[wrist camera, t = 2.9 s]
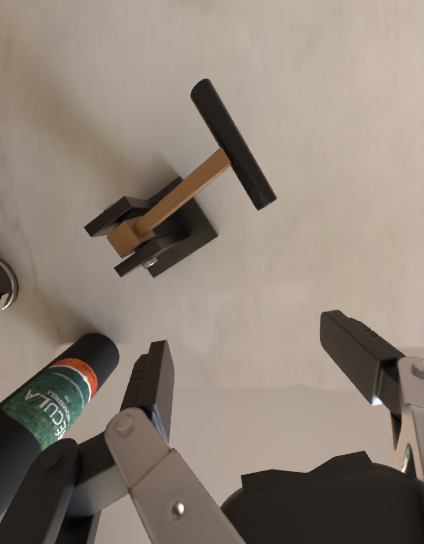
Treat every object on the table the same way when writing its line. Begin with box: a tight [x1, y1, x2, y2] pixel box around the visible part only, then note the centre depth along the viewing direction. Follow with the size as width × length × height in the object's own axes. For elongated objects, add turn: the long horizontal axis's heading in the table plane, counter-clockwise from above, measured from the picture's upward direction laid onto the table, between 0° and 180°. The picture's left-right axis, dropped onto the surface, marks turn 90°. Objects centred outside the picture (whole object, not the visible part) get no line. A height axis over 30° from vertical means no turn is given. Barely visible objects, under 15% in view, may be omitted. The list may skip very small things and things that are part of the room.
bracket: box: [84, 177, 218, 278], centre depth 25 cm, size 11×9×14 cm
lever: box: [107, 79, 277, 258], centre depth 17 cm, size 13×8×2 cm, turn 123°
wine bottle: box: [0, 334, 119, 516], centre depth 23 cm, size 8×8×30 cm
